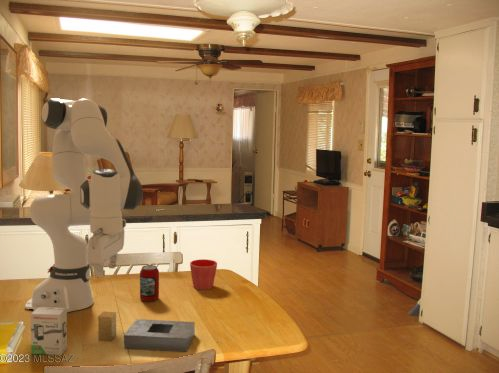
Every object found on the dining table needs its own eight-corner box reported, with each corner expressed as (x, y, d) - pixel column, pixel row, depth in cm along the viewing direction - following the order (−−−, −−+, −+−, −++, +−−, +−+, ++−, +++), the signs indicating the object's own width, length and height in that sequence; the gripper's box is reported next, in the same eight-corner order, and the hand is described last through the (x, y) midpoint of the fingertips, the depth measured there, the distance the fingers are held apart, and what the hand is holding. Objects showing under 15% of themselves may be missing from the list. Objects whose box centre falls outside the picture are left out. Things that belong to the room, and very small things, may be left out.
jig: (124, 348, 144) (124, 335, 144) (136, 331, 156) (136, 319, 156) (186, 352, 143) (186, 338, 142) (194, 334, 155) (194, 322, 154)
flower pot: (222, 286, 201) (223, 262, 200) (202, 292, 193) (203, 268, 192) (204, 280, 208) (204, 257, 207) (184, 286, 200) (184, 262, 199)
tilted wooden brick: (98, 341, 149) (98, 316, 148) (103, 335, 153) (103, 311, 152) (111, 341, 149) (111, 317, 148) (116, 336, 153) (116, 312, 152)
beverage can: (136, 300, 183) (136, 268, 182) (146, 294, 190) (146, 263, 188) (152, 303, 181) (152, 270, 179) (162, 297, 187) (162, 265, 186)
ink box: (30, 354, 139) (28, 313, 138) (37, 346, 144) (36, 306, 143) (61, 355, 139) (60, 313, 138) (68, 347, 144) (67, 307, 143)
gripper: (103, 233, 136) (104, 283, 138) (127, 219, 156) (128, 263, 158) (80, 232, 137) (81, 282, 138) (107, 219, 157) (108, 262, 158)
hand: (106, 272), depth 148 cm, fingers open, 8 cm apart
